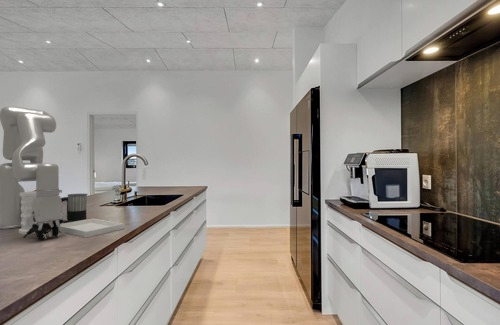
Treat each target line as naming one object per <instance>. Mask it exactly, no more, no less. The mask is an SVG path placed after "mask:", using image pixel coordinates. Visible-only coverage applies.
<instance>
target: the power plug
mask: <svg viewBox="0 0 500 325" xmlns="http://www.w3.org/2000/svg"><path fill="white" fill-rule="evenodd" d="M52 227H53V226H51V224H50V223H49V222H47V223H44V222H43V226H42V230H43V239H44V240H47V236H46V235H48V237H49V238H52V237H53V236H52V233H51V232H52ZM33 232H35V233H34V234H36V229H35V228H33V227H32V228H31V229H30V230H29V231H28V232H27V234H24V235H23V236H22V237H23V238H24V239H25V238H26V237H27V236H29V235H32V233H33Z"/></svg>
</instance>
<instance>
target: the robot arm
mask: <svg viewBox="0 0 500 325" xmlns="http://www.w3.org/2000/svg"><path fill="white" fill-rule="evenodd" d="M0 124H1V126H2V129H3V139H2V157H3V158H4V159H5V160H7V161H11V162H5V163H2V164H1V163H0V230H5V229H6V230H7V229H15V228H16V229H17V228H22V225H21V221H22V218H21V214H22V211H21V207H22V204H21V200H22V196H20V193H21V192H26V191H25V189H24V187H23V186H22V185H21V182H24V183H25V182H35V184H36V186H35V191H36V198H34V199H33V203H32V209H31V217H30V219H29V220H28V221H27V222H26V224H28V225H30V226H32V227H33V228H35V229H36V233H35V235H36V239H37V240H40V241H42V240H44V237H43V230H42V226H43V222H47V223H49V222H52V225H53V226H51V227H52V230H51V236H52V237H54V238H55V237H56V238H57V237H59V236H58V235H59V233H60V232H59V226H60V224H63V223H62V222H63V221H64V220H67V214H65V212H63V209H64V208H63V202H62V201H61V198H62V197H61V195H60V194H62V193H63V190H62V189H60V187H59V181H60V180H59V179H60V177H59V174H60V171H59V165H58V164H55V163H47V162H45V163H43V160H44V149H43V147H45V145H46V139H45V135H44V133H49V134H51V133H54V132H55V131H56V128H57V121H56V118H55V116H53V115H52V114H50V113H48V112H47V111H45V110H41V109H34V108H27V107H20V106H19V107H18V106H4V107H2V108H1V109H0ZM24 161H29V162H24ZM33 222H37V223H36V224H34V223H33Z"/></svg>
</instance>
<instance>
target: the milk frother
mask: <svg viewBox="0 0 500 325" xmlns="http://www.w3.org/2000/svg"><path fill="white" fill-rule="evenodd" d="M87 196H88V193H70V194H69V193H68V194H67V196H64V197H61V201H62V203H63V202H66V216H67V218H66V219H65V220H64V221H63V222H62V223H61V224H64V223H69V222H75V221H81V220H87Z"/></svg>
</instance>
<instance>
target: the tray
mask: <svg viewBox="0 0 500 325" xmlns="http://www.w3.org/2000/svg"><path fill="white" fill-rule="evenodd" d="M86 219H87V218H86ZM125 228H126V227H125V223H121V222H116V221H109V220H103V219H98V218H89V219H87V220H81V221H75V222H69V223H61V224H60V226H59V231H60V232H59V233H63V232H64V234H68V235H72V236H77V237H81V238H84V239H85V238H91V237H95V236H99V235H105V234H108V233H113V232H117V231H122V230H125Z"/></svg>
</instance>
